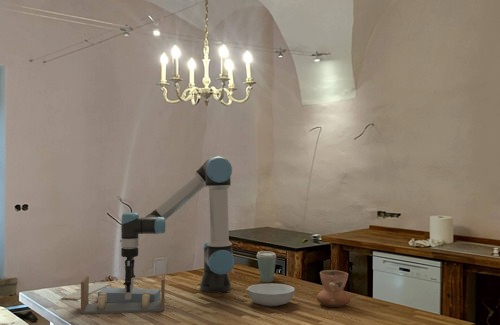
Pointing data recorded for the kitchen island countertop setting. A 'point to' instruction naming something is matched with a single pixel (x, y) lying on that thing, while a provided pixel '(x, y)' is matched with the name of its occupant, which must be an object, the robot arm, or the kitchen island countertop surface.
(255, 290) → the serving bowl
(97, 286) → the baseboard
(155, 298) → the shelf board
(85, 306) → the peg shelf
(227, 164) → the robot arm
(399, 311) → the kitchen island countertop surface
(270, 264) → the disposable coffee cup
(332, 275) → the ceramic jug
